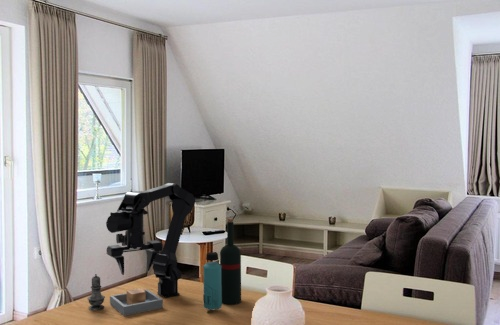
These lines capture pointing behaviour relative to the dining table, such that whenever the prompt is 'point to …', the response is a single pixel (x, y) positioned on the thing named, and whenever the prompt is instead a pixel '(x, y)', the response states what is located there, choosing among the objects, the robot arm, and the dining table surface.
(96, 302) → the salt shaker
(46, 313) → the dining table surface
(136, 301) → the light brown block
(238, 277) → the wine bottle
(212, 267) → the beverage bottle
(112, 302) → the low wall corral
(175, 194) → the robot arm
